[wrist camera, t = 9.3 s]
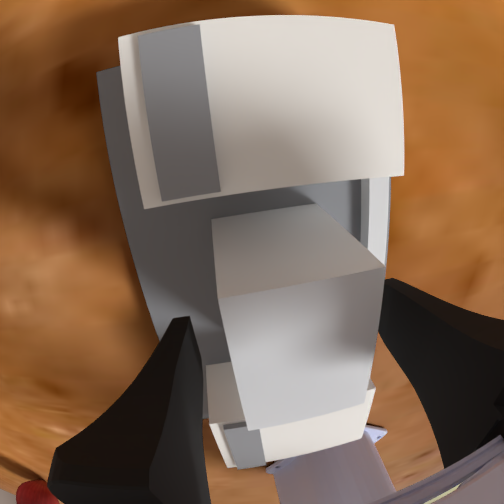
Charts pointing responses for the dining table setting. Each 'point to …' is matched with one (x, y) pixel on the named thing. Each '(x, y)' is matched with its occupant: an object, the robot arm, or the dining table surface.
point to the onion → (35, 493)
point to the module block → (296, 312)
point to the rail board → (249, 172)
